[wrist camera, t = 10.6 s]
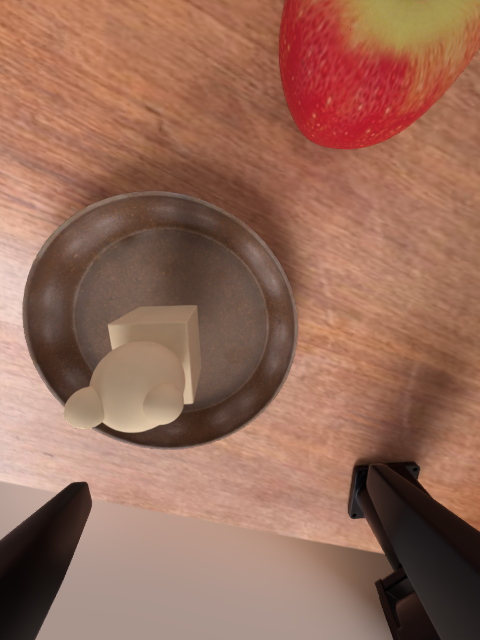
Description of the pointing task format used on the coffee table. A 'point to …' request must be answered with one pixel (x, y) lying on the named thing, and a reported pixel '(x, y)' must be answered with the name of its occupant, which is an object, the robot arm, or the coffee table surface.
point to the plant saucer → (164, 290)
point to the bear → (142, 372)
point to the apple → (371, 63)
